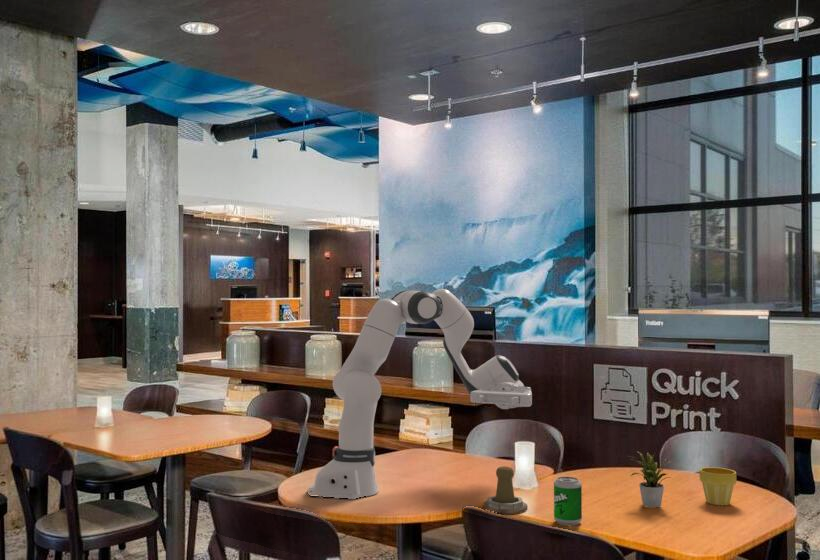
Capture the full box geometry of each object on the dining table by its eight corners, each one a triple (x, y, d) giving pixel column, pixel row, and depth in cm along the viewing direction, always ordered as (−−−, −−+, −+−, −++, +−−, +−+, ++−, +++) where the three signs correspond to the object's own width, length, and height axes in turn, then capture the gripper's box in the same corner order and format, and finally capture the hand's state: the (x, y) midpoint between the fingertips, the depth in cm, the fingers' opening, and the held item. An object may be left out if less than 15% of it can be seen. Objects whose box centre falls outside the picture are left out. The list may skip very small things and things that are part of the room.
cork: (515, 507, 222) (515, 469, 222) (494, 506, 223) (494, 469, 223) (515, 502, 228) (515, 465, 228) (495, 501, 229) (494, 464, 229)
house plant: (613, 501, 233) (613, 447, 233) (651, 496, 238) (650, 444, 238) (643, 513, 219) (643, 456, 220) (682, 508, 224) (681, 453, 225)
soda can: (577, 518, 214) (577, 475, 215) (584, 526, 207) (584, 482, 207) (551, 518, 214) (551, 475, 214) (557, 526, 207) (557, 482, 207)
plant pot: (718, 497, 237) (718, 465, 238) (744, 505, 228) (744, 472, 228) (692, 500, 234) (692, 468, 234) (717, 508, 224) (716, 475, 224)
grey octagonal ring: (484, 514, 219) (484, 505, 219) (481, 502, 232) (481, 493, 232) (529, 514, 218) (529, 505, 218) (524, 502, 231) (524, 494, 231)
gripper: (475, 384, 260) (464, 388, 247) (535, 387, 253) (527, 392, 240) (475, 403, 260) (464, 408, 247) (535, 406, 253) (527, 412, 240)
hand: (496, 400), depth 244 cm, fingers open, 8 cm apart
